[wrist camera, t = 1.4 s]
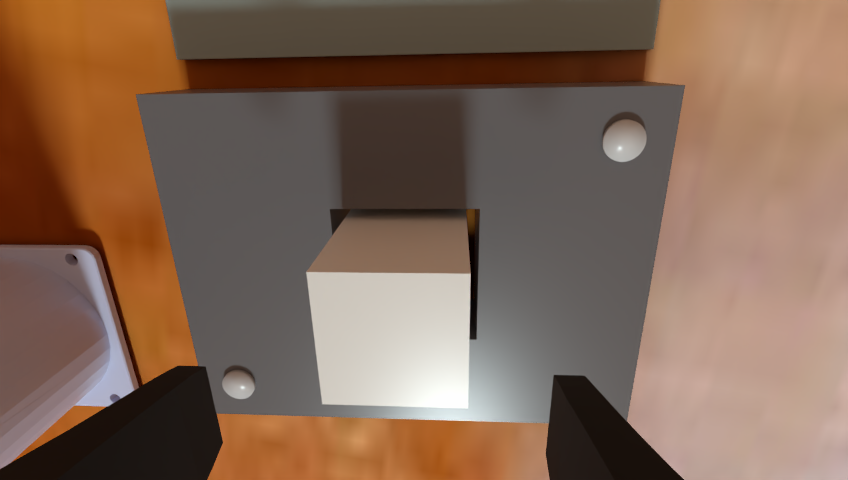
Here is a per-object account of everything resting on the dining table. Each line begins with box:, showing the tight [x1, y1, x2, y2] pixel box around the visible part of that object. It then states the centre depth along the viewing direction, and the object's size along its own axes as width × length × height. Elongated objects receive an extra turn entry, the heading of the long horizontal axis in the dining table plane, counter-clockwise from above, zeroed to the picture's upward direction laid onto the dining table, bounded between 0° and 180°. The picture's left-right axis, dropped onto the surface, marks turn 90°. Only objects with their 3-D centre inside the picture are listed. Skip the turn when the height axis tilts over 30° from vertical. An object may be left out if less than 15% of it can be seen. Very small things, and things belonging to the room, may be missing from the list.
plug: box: [306, 209, 471, 408], centre depth 15 cm, size 4×4×7 cm
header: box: [136, 81, 685, 423], centre depth 17 cm, size 16×12×3 cm
